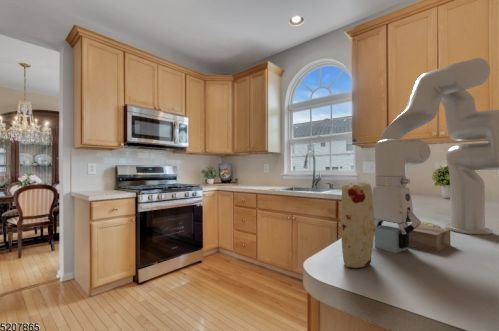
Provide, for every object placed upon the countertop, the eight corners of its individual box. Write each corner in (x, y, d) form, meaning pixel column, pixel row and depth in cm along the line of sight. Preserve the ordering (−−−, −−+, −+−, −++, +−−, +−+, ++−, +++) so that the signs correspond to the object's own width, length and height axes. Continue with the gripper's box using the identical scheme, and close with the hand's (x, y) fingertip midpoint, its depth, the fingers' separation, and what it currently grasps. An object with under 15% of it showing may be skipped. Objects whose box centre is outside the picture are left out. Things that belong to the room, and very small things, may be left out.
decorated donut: (451, 237, 82) (451, 226, 82) (424, 239, 80) (423, 228, 80) (423, 230, 92) (423, 219, 92) (399, 231, 90) (398, 221, 90)
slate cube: (386, 244, 75) (386, 224, 75) (407, 249, 70) (407, 228, 70) (374, 247, 72) (374, 226, 72) (395, 253, 67) (395, 231, 67)
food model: (360, 275, 54) (359, 183, 54) (333, 265, 59) (332, 181, 59) (381, 264, 60) (380, 181, 60) (354, 256, 65) (353, 180, 65)
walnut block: (413, 238, 82) (413, 223, 82) (450, 246, 73) (450, 229, 73) (398, 244, 76) (398, 227, 76) (436, 253, 68) (436, 235, 68)
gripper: (430, 183, 66) (431, 250, 66) (370, 180, 81) (371, 235, 81) (415, 184, 62) (416, 255, 62) (355, 181, 77) (356, 239, 77)
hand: (390, 243), depth 71 cm, fingers open, 6 cm apart
